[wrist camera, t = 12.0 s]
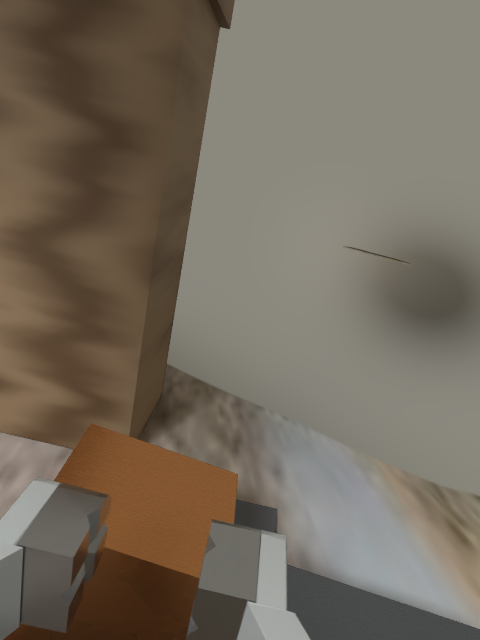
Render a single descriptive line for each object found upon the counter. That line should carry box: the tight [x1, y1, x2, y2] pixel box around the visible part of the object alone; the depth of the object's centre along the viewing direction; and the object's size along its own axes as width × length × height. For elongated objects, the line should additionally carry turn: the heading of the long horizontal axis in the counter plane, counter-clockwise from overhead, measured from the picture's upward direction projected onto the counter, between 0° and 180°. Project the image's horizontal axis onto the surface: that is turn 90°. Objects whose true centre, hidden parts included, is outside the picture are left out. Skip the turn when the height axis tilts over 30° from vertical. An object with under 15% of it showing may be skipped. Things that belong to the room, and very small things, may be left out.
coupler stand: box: [0, 0, 234, 449], centre depth 26 cm, size 10×9×26 cm
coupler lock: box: [3, 423, 480, 640], centre depth 17 cm, size 6×17×5 cm
